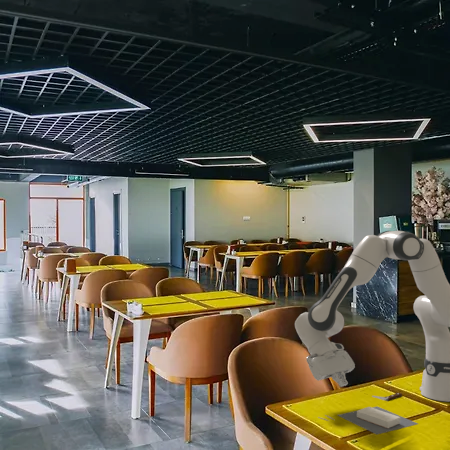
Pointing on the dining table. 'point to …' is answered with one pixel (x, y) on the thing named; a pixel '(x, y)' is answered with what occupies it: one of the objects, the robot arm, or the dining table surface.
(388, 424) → the tile
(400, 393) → the kitchen cleaver
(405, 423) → the mat
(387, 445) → the dining table surface
